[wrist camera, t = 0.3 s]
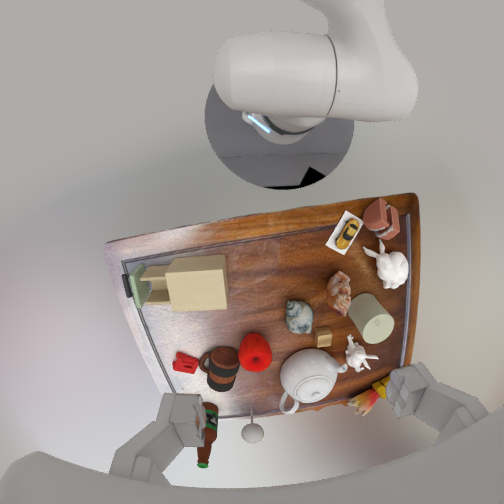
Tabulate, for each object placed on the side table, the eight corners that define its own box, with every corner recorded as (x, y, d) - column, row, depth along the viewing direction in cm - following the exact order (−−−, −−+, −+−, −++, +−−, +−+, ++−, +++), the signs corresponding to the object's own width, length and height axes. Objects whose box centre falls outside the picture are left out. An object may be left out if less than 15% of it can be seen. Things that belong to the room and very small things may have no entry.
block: (314, 328, 75) (318, 336, 71) (328, 326, 75) (332, 334, 72) (314, 339, 77) (317, 347, 73) (327, 337, 77) (330, 345, 73)
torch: (398, 357, 83) (342, 402, 83) (411, 371, 76) (353, 418, 77) (400, 364, 87) (348, 406, 88) (412, 378, 81) (359, 421, 81)
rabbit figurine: (347, 334, 77) (358, 354, 68) (369, 330, 77) (382, 349, 68) (342, 364, 81) (351, 384, 71) (363, 360, 81) (374, 379, 72)
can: (372, 287, 72) (391, 308, 60) (379, 311, 74) (397, 333, 63) (343, 303, 73) (359, 326, 61) (353, 326, 76) (367, 350, 64)
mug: (193, 351, 71) (190, 378, 75) (232, 372, 67) (225, 398, 71) (210, 336, 78) (205, 363, 82) (246, 354, 74) (239, 381, 78)
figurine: (347, 273, 70) (369, 299, 56) (329, 295, 72) (348, 326, 58) (330, 261, 69) (350, 287, 55) (312, 284, 71) (328, 314, 57)
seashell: (287, 327, 77) (289, 289, 72) (312, 332, 74) (317, 294, 70) (280, 340, 71) (282, 301, 67) (307, 345, 68) (312, 306, 64)
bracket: (178, 358, 73) (177, 351, 76) (173, 370, 73) (172, 364, 76) (199, 362, 76) (197, 356, 79) (193, 374, 76) (191, 368, 79)
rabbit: (394, 294, 61) (386, 248, 58) (366, 289, 69) (357, 247, 66) (416, 272, 66) (409, 230, 63) (390, 270, 74) (382, 231, 72)
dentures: (359, 233, 62) (381, 249, 63) (381, 217, 56) (403, 235, 58) (359, 208, 67) (380, 225, 69) (379, 193, 61) (399, 211, 63)
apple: (276, 339, 76) (280, 364, 65) (252, 355, 77) (254, 381, 67) (255, 320, 73) (258, 344, 63) (231, 337, 75) (230, 362, 65)
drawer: (133, 293, 69) (123, 308, 61) (126, 264, 66) (114, 276, 59) (188, 291, 69) (182, 306, 62) (182, 260, 66) (176, 273, 59)
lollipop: (260, 414, 87) (263, 447, 73) (240, 413, 86) (240, 446, 72) (262, 402, 85) (265, 436, 70) (241, 401, 84) (242, 436, 70)
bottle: (222, 410, 86) (220, 469, 62) (205, 415, 87) (200, 472, 63) (210, 399, 83) (205, 459, 60) (193, 404, 84) (185, 463, 61)
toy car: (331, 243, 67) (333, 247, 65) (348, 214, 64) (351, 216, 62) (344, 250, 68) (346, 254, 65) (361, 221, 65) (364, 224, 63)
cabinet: (180, 292, 70) (172, 311, 61) (174, 257, 67) (164, 272, 58) (228, 289, 70) (227, 309, 61) (224, 254, 67) (222, 269, 58)
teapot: (275, 348, 77) (281, 380, 64) (336, 340, 77) (351, 369, 64) (276, 390, 83) (281, 421, 70) (331, 382, 83) (341, 412, 70)
